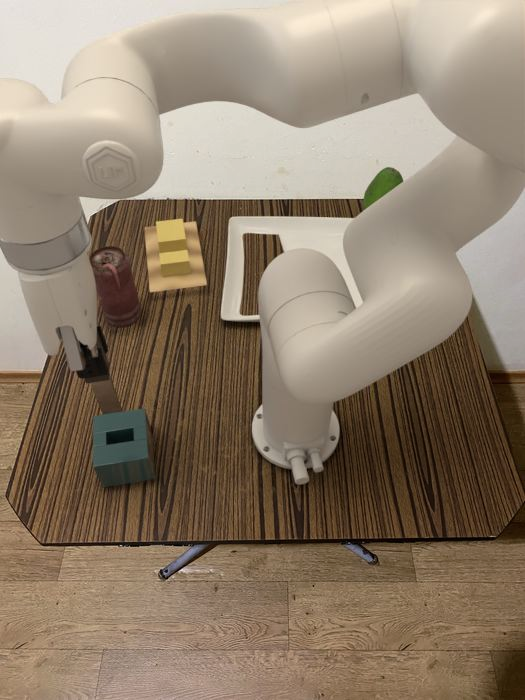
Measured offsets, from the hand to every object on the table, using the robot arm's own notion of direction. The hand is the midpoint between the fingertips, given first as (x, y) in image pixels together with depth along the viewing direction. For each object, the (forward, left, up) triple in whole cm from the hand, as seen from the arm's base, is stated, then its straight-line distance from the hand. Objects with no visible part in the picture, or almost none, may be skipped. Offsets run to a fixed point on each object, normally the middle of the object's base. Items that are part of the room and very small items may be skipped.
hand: (93, 362), depth 64 cm
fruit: (+44, -51, -22) cm, 71 cm away
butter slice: (+36, -10, -20) cm, 42 cm away
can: (+27, 0, -22) cm, 34 cm away
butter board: (+40, -10, -22) cm, 47 cm away
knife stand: (0, 0, -22) cm, 22 cm away
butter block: (+43, -10, -20) cm, 49 cm away
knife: (0, 0, -10) cm, 10 cm away
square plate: (+31, -32, -22) cm, 50 cm away
